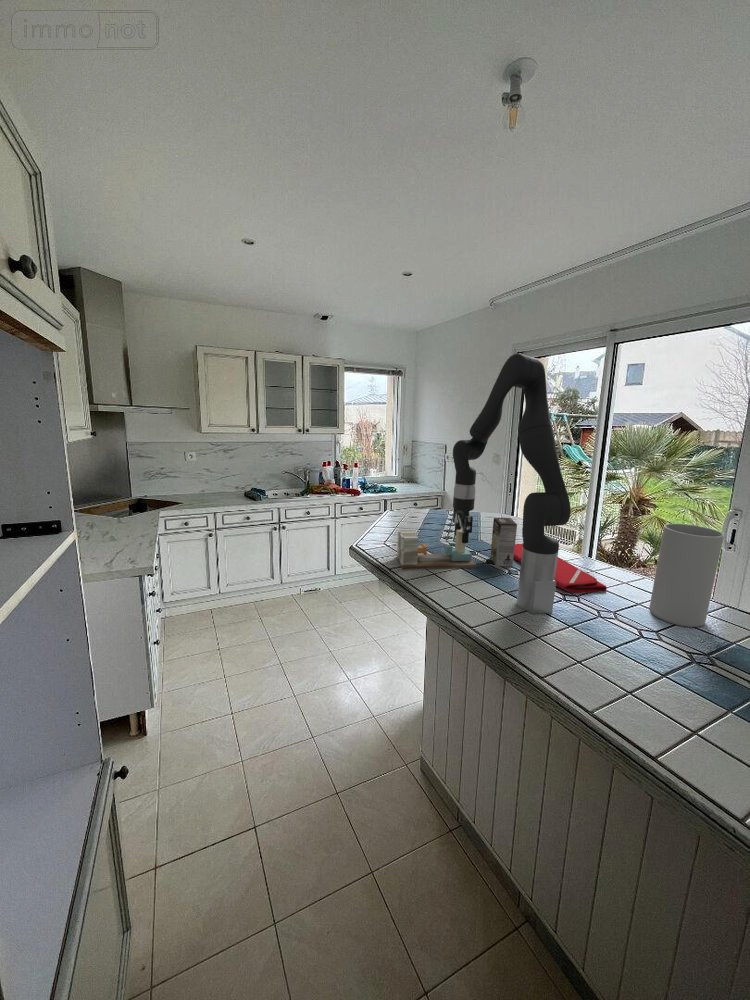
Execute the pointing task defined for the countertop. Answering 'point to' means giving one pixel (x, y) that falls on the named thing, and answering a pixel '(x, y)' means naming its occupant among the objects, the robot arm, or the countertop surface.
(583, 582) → the folded red towel
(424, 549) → the button
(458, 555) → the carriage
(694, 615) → the cylinder vase
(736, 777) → the countertop surface
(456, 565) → the rail bench
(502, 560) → the coffee box
